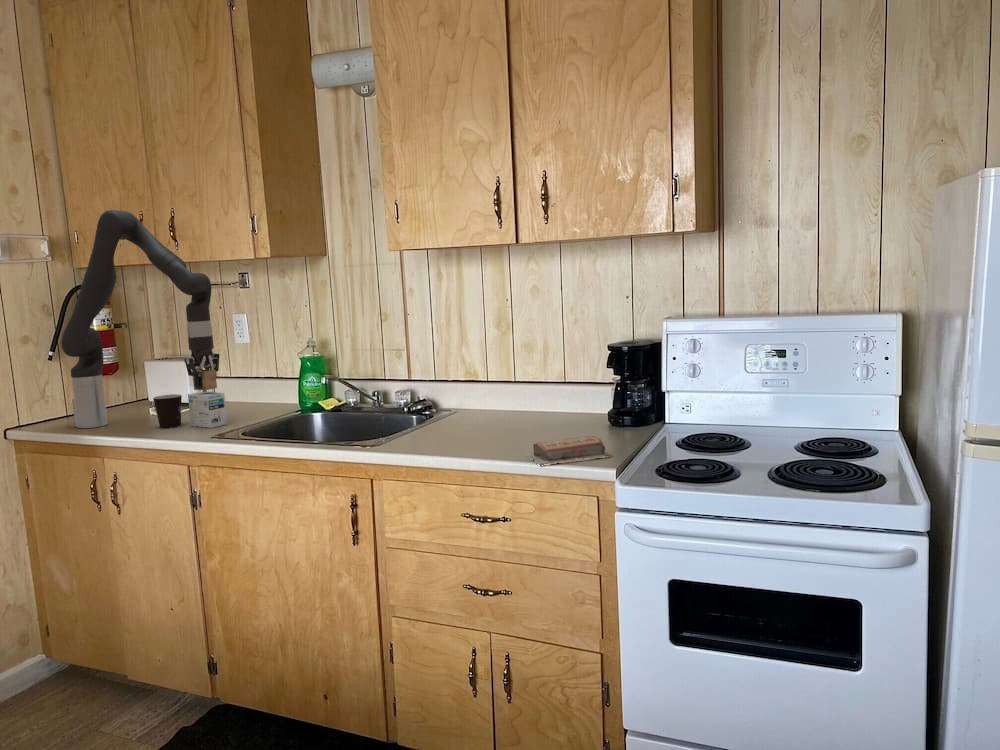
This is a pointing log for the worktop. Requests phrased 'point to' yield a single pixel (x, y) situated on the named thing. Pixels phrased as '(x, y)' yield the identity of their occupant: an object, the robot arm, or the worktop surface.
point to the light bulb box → (207, 409)
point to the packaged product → (567, 449)
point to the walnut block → (207, 380)
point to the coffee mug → (168, 410)
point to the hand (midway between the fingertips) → (205, 386)
